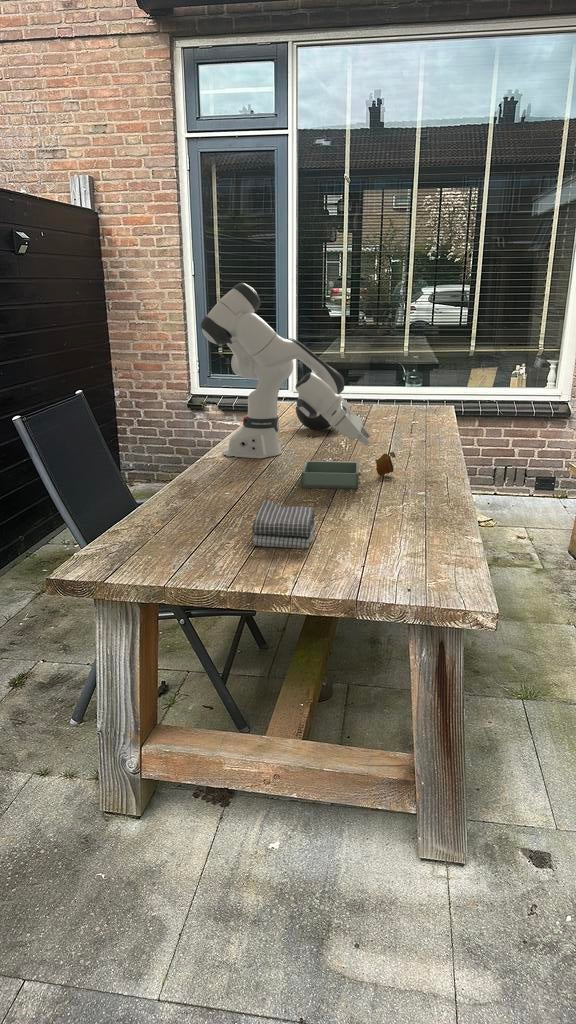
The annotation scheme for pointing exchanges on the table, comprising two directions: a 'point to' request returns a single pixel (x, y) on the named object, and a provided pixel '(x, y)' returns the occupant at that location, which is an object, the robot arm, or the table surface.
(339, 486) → the bin
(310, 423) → the bowl of black rocks
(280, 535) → the towel
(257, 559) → the table surface
